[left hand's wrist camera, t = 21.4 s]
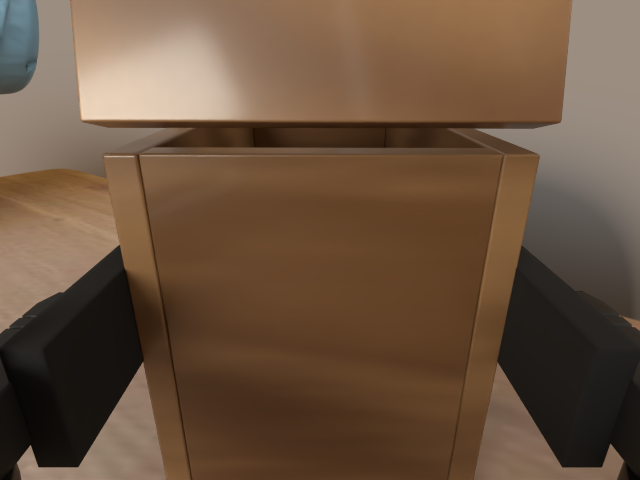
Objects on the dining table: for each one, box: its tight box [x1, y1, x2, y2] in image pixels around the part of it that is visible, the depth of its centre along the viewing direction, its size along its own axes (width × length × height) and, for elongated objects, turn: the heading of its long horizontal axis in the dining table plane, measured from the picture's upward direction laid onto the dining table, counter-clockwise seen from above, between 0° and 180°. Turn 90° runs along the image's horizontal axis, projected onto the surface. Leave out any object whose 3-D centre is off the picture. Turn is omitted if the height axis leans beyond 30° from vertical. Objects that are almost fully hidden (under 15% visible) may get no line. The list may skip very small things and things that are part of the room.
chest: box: [103, 128, 540, 480], centre depth 18 cm, size 17×9×11 cm, turn 0°
